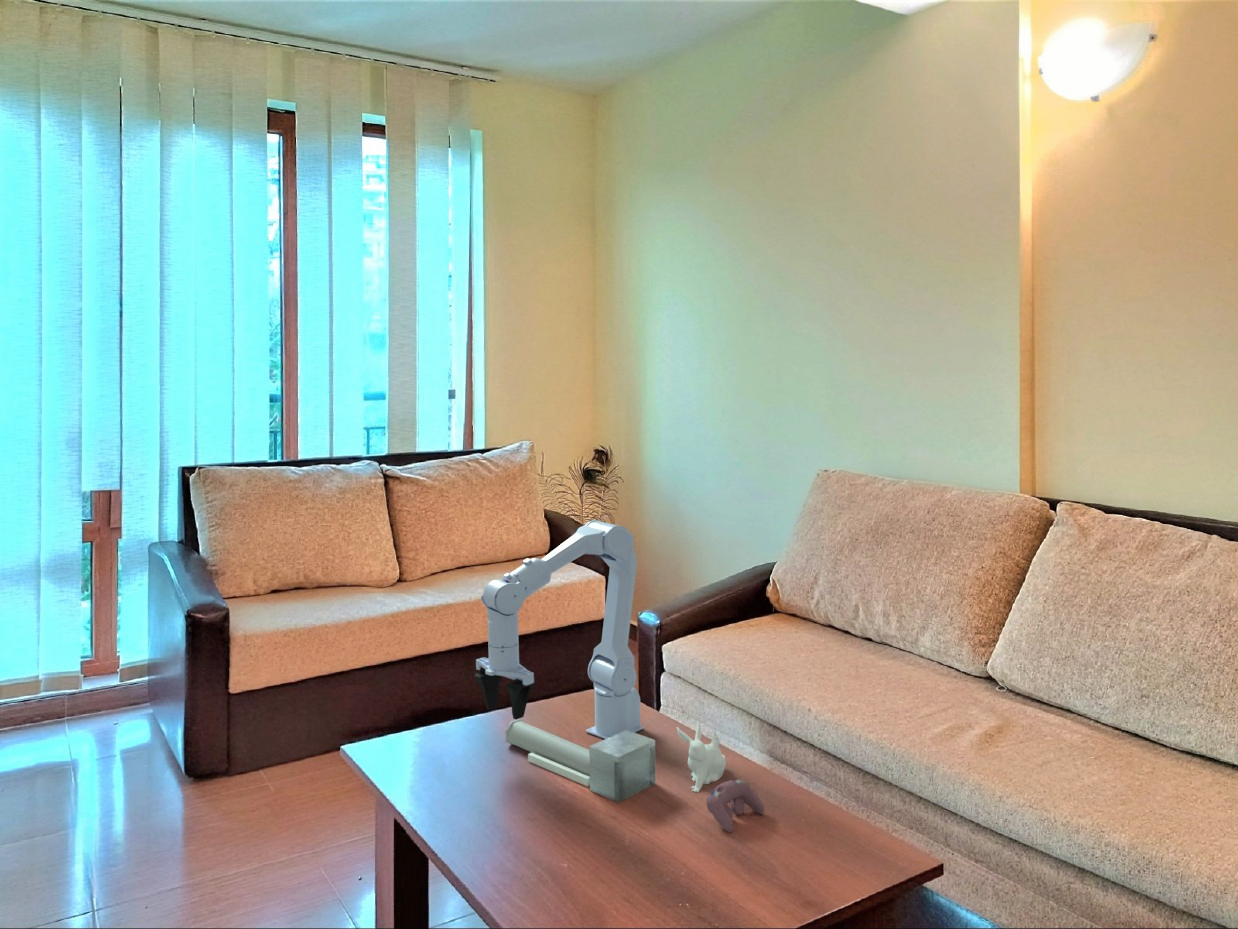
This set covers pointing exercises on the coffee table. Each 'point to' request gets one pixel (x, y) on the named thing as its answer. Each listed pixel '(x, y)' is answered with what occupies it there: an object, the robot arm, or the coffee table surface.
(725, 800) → the video game controller
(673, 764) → the coffee table surface
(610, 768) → the socket
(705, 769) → the rabbit figurine
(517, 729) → the tube
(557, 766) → the rails
